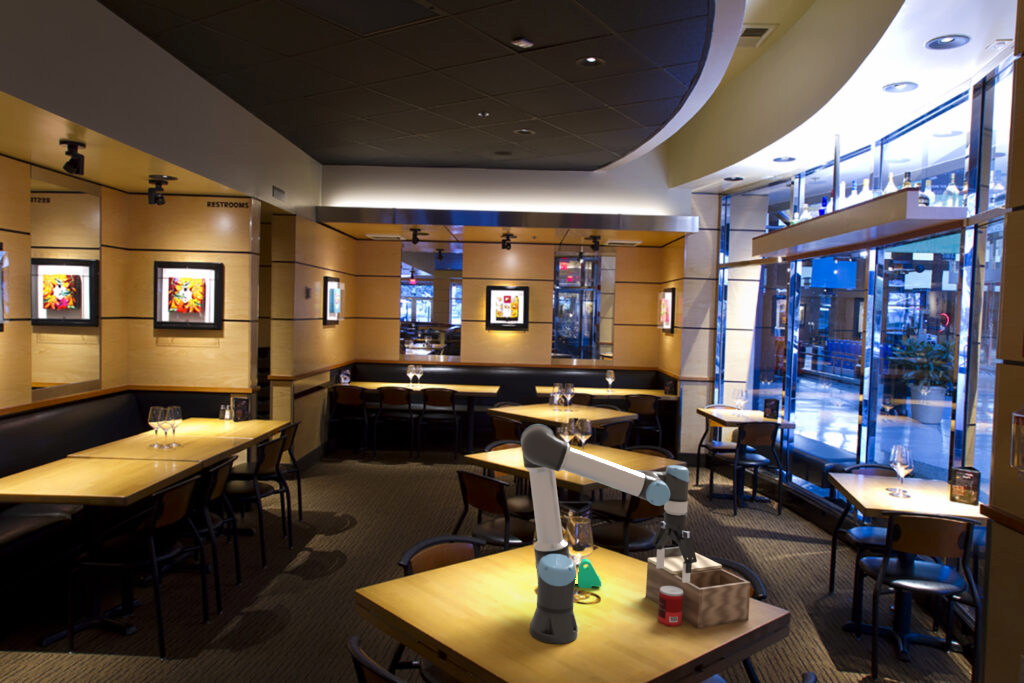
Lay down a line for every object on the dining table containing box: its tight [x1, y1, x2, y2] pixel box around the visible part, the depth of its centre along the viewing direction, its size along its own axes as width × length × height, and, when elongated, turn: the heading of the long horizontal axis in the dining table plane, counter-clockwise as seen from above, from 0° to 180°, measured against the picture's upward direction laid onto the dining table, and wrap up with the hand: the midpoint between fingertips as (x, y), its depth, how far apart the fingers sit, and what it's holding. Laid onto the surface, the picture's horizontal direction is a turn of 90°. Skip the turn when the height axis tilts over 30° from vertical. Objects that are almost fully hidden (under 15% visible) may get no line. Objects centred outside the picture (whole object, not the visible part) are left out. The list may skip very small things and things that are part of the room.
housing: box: [645, 560, 751, 630], centre depth 236 cm, size 22×28×13 cm
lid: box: [647, 546, 723, 574], centre depth 243 cm, size 22×14×4 cm, turn 115°
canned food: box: [657, 586, 683, 628], centre depth 223 cm, size 8×8×11 cm
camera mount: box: [575, 558, 602, 589], centre depth 254 cm, size 12×8×10 cm, turn 88°
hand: (672, 574), depth 223 cm, fingers open, 13 cm apart
